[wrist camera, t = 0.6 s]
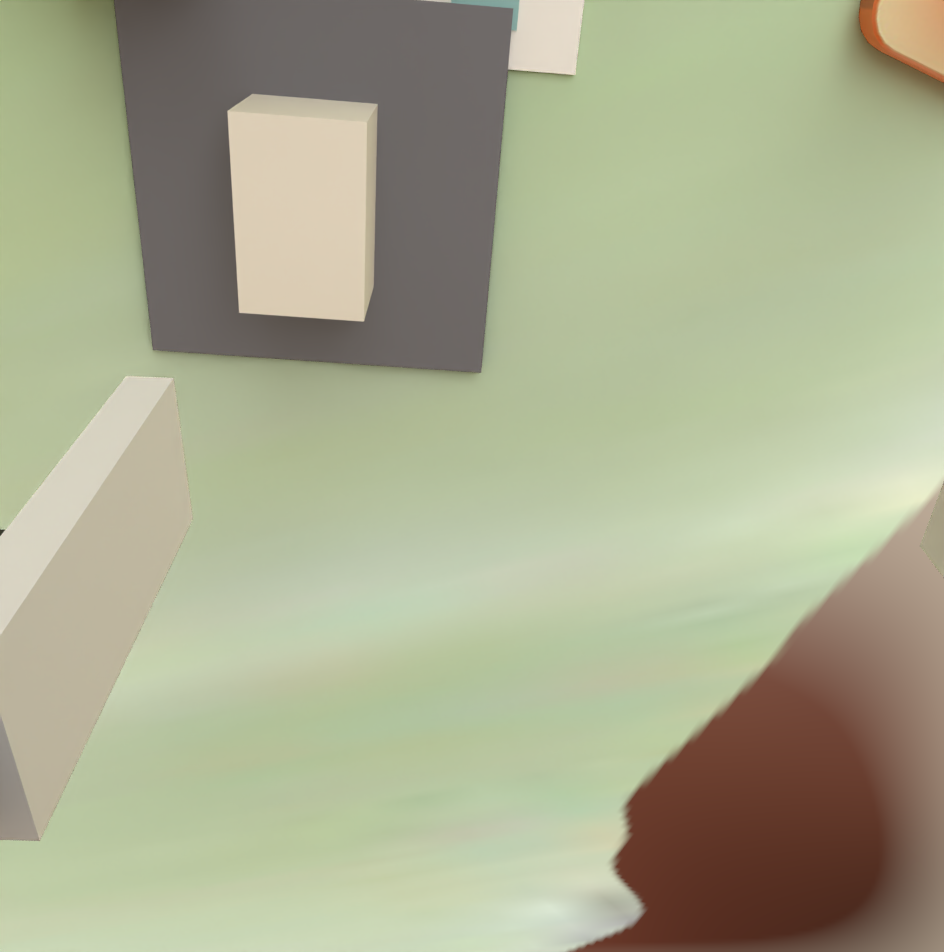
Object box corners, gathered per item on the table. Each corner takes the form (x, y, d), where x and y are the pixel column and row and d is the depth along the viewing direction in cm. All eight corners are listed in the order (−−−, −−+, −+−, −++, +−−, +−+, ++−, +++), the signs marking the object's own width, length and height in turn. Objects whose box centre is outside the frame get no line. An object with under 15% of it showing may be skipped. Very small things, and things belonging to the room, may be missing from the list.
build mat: (115, -27, 32) (66, -23, 28) (512, 7, 32) (518, 16, 28) (156, 345, 39) (121, 390, 35) (480, 368, 39) (482, 414, 35)
